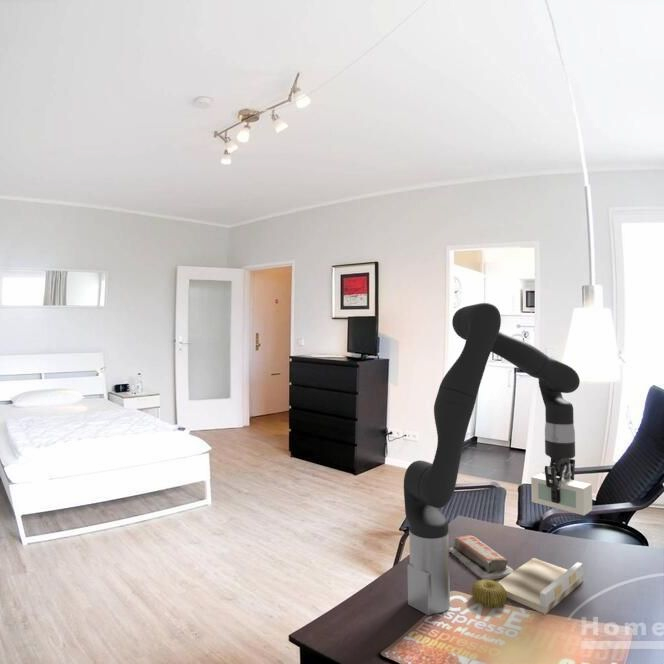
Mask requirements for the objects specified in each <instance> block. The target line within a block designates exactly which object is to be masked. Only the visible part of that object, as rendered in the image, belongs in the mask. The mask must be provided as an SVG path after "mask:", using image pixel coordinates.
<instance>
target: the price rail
mask: <svg viewBox="0 0 664 664" xmlns="http://www.w3.org/2000/svg"><path fill="white" fill-rule="evenodd" d="M583 566H584V564H583V563H582V562H579V561H577V562H576V563H574V564H573V565H572V566H570V568H568V569H566V570H567V571H566V572H565V573H563V574H562V575H561V576H560V577H558V578H557V579H556V580H555V581H553V582H552V583H551V584H550V585H548V586H547V587H546V588H545V589H543V590H542V591H541V592H540V606H543V607H545V608H546V607H547V606H548V605H549V604H550V603H551V602H553V601H554V600H555V599H556V598H557V597H558V596H560V595H561V594H562V593H563V592H564V591H565V590H567V589H568V588H569V587H570V586H571V585H572V584H574V583H575V582H576V581H577V580H578V579H579V578H581V577H582V576H583V577H584V567H583Z"/></svg>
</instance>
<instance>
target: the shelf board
mask: <svg viewBox="0 0 664 664" xmlns="http://www.w3.org/2000/svg"><path fill="white" fill-rule="evenodd" d="M567 570H568V569H566V568H563V567H560V566H558V565H556V564H552V563H551V562H550V563H549V562H547V561H544V560H541V559H538V558H536V557H532V558H531V559H530V560H527V561H526V562H525V563H523V564H522V565H521V566H519V567H518V568H516V569H515V570H514V571H513V572H512V573H510V574H509V575H508V576H506V577H504V578H501V579H500V580H499V581H497V582H498V583H499V584H501V585H502V586H503V587H504V589H505V591H506V594H507V598H506V599H509V600H512V601H514V602H517V603H519V604H522V605H524V606H526V607H528V608H530V609H533V610H535V611H537V612H538V613H542V614H543V615H547V614H548V613H549V612H550V611H551V610H552V609H553V608H555V607H556V606H557V605H558V604H559V603H560V602H561V601H563V599H565V598H566V597H567V596H568V595H570V593H572V591H573V592H574V590H575V589H576V588H577V587H579V585H581V584H582V583H583V582H584V575H583V576H582V577H581V578H579V579H578V580H577V581H576V582H575V583H574V584H572V585H571V586H570V587H569V588H568V589H567V590H565V591H564V592H563V593H562V594H561V595H560V596H558V597H557V598H556V599H555V600H554V601H553V602H551V603H550V604H549V605H548V606H547V607H546V608H545V607H543V606H540V592H541V591H542V590H543V589H545V588H546V587H547V586H548V585H550V584H551V583H552V582H553V581H555V580H556V579H557V578H558V577H560V576H561V575H562V574H563V573H565V572H566V571H567Z"/></svg>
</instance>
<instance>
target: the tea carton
mask: <svg viewBox="0 0 664 664" xmlns="http://www.w3.org/2000/svg"><path fill="white" fill-rule="evenodd" d="M557 477H558V476H557ZM558 478H559V477H558ZM530 482H531V484H530V486H531V502H532V503H534V504H535V503H536V504H537V505H538V504H539V505H543V506H547V507H550V508H554V509H558V510H561V511H565V512H569V513H573V514H577V515H580V516H586V515H587V514H588V513H590V512H592V511H593V486H592V485H593V484H592V483H588V482H583V481H578V480H576V479H574V480H570V479H569V480H568V479H565V478H564V480H563V482H561V487H560V503H554V502H552V501H551V488H549V487H547V486H546V477H545V473H542V472H541V473H538V474H535V475H532V476H531V478H530ZM557 482H558V481H557Z"/></svg>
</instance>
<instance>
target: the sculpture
mask: <svg viewBox="0 0 664 664" xmlns="http://www.w3.org/2000/svg"><path fill="white" fill-rule="evenodd" d="M498 582H499V581H495V580H494V579H493V580H488V579H484V580H483V579H482V578H481V579H479V580H477V581H475V582H474V584H472V587H471V595H472V597H473V598H474V601H476V602H477V604H479V605H481V606H483V607H486V608H494V609H495V608H499V607H502V606H503V605H505V603H506V601H507V599H508V598H507V594H506V591H505V589H504V587H503V586H502V585H501V584H499V583H498Z"/></svg>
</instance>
